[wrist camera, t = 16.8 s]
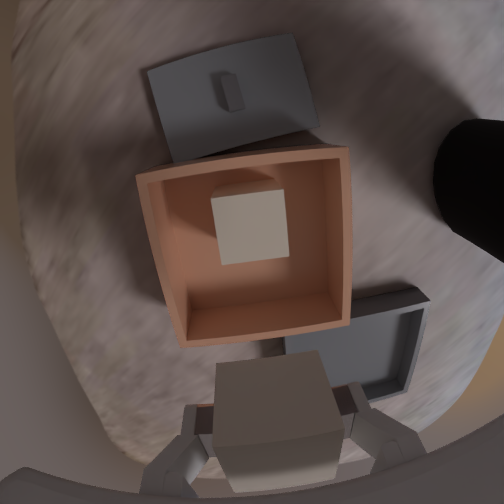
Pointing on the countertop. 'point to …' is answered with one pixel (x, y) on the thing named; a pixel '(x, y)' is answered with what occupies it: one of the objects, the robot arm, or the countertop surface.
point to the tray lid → (233, 96)
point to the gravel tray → (371, 343)
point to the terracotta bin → (254, 272)
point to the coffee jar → (473, 183)
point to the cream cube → (250, 221)
